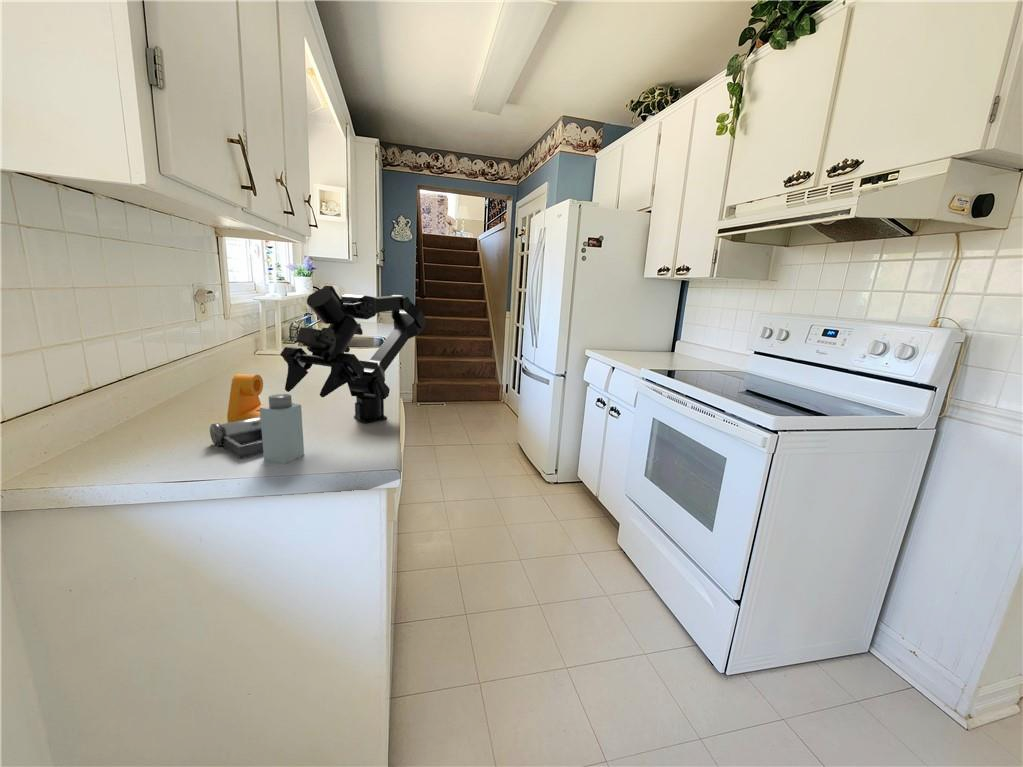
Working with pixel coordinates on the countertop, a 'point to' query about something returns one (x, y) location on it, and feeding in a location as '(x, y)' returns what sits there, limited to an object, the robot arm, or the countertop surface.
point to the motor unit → (239, 437)
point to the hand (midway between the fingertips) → (303, 393)
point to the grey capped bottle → (281, 429)
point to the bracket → (245, 397)
